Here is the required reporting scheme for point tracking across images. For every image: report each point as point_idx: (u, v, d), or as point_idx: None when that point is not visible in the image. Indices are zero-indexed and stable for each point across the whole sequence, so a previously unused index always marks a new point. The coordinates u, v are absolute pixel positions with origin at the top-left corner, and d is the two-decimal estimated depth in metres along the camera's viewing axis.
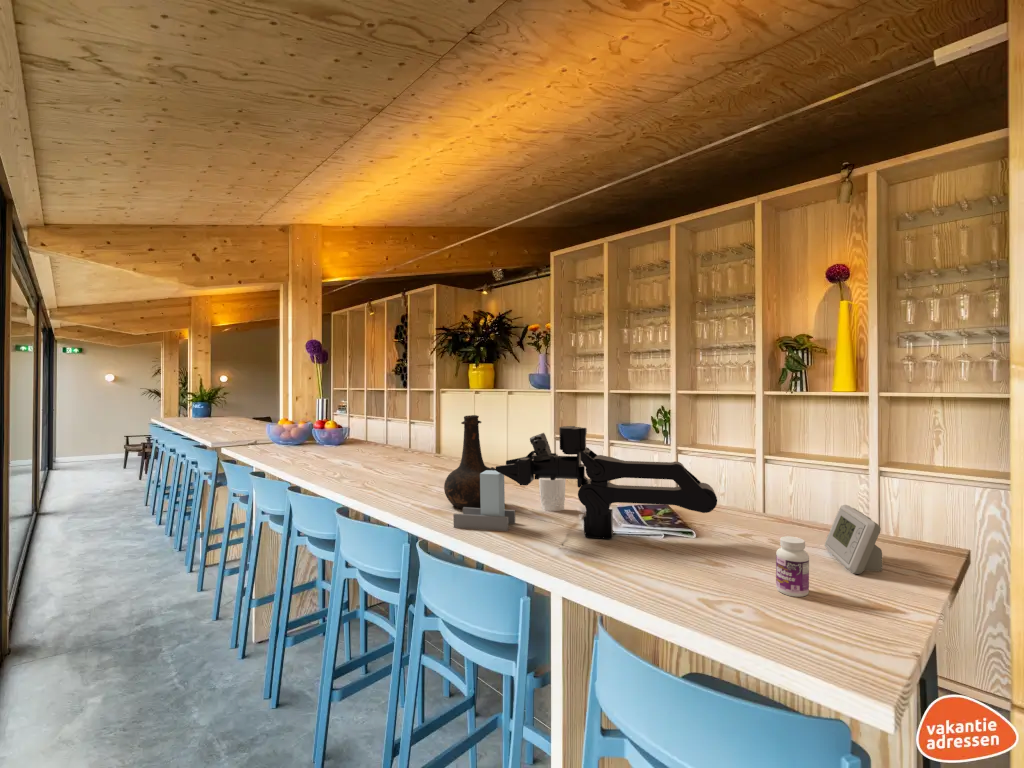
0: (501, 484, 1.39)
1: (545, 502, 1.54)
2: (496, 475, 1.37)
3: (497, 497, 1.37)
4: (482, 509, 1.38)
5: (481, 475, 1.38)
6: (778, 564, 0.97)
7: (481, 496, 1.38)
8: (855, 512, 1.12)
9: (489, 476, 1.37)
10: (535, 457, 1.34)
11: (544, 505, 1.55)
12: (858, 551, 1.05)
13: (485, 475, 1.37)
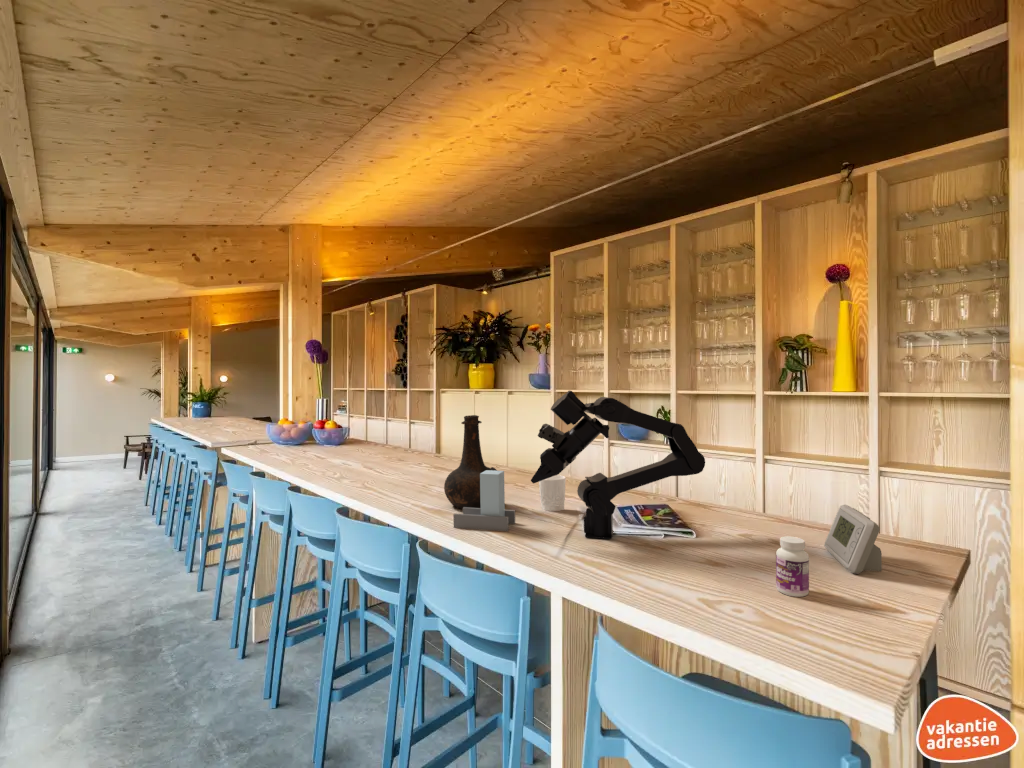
0: (501, 484, 1.39)
1: (545, 502, 1.54)
2: (496, 475, 1.37)
3: (497, 497, 1.37)
4: (482, 509, 1.38)
5: (481, 475, 1.38)
6: (778, 564, 0.97)
7: (481, 496, 1.38)
8: (854, 512, 1.12)
9: (489, 476, 1.37)
10: (553, 445, 1.32)
11: (544, 505, 1.55)
12: (857, 551, 1.05)
13: (485, 475, 1.37)
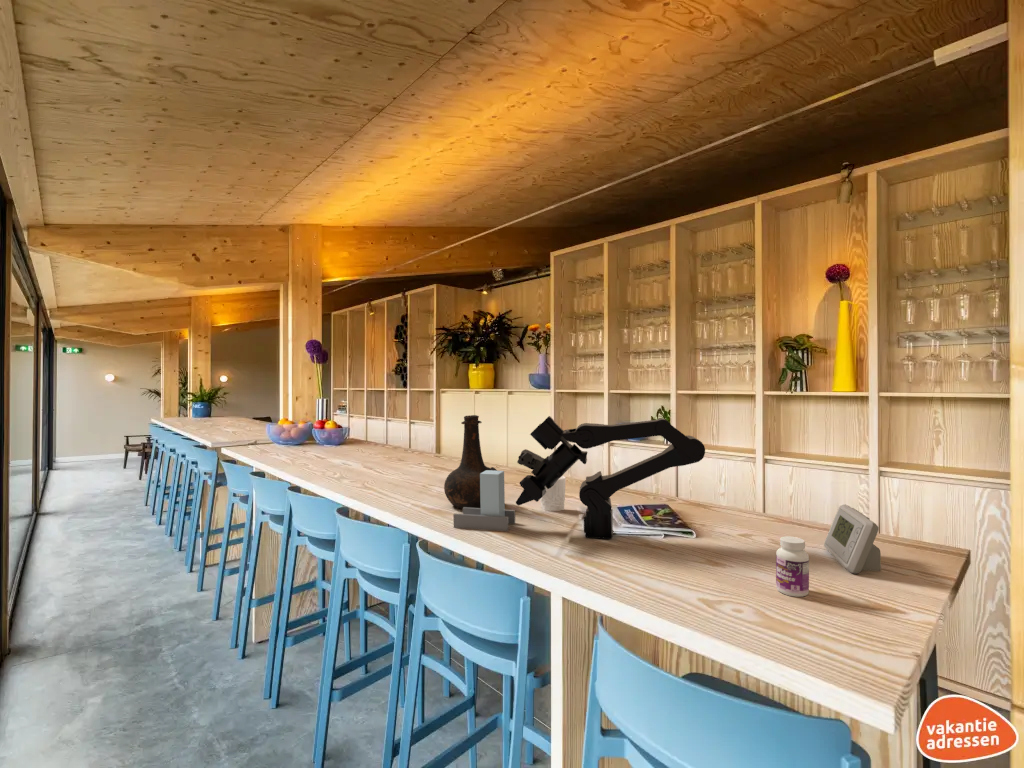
0: (501, 484, 1.39)
1: (545, 502, 1.54)
2: (496, 475, 1.37)
3: (497, 497, 1.37)
4: (482, 509, 1.38)
5: (481, 475, 1.38)
6: (778, 564, 0.97)
7: (481, 496, 1.38)
8: (854, 512, 1.12)
9: (489, 476, 1.37)
10: (533, 471, 1.34)
11: (544, 505, 1.55)
12: (856, 551, 1.05)
13: (485, 475, 1.37)
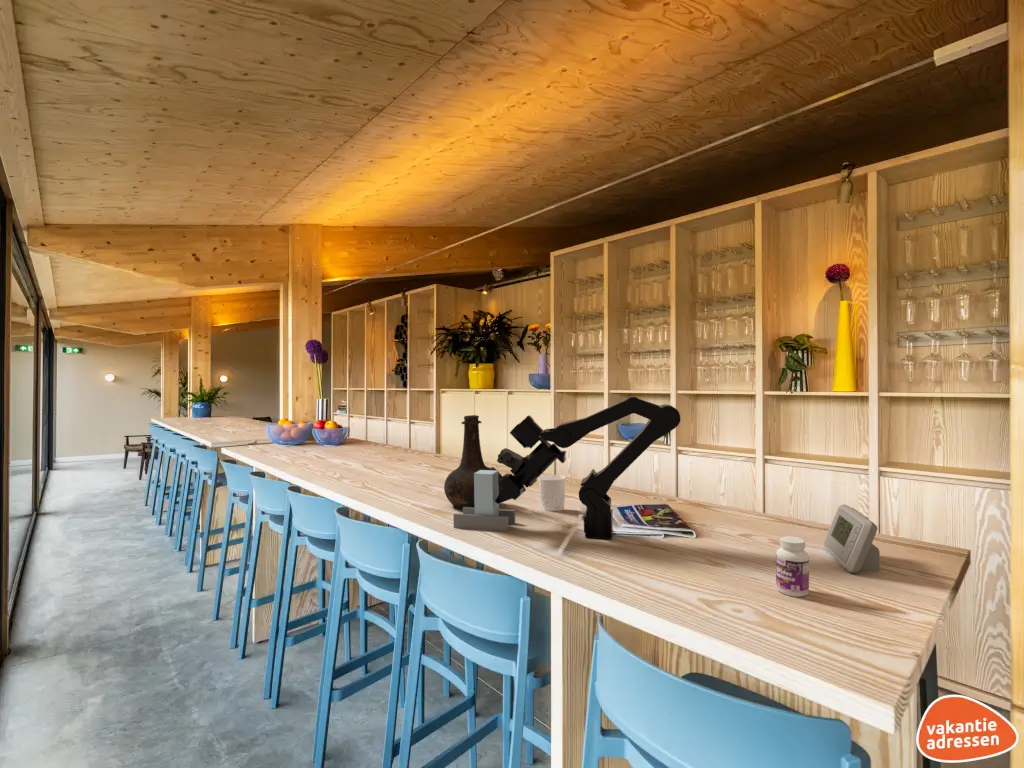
0: (495, 484, 1.40)
1: (545, 502, 1.54)
2: (490, 475, 1.37)
3: (491, 497, 1.37)
4: (476, 509, 1.38)
5: (475, 475, 1.38)
6: (778, 564, 0.97)
7: (475, 496, 1.38)
8: (853, 512, 1.12)
9: (482, 476, 1.38)
10: (512, 470, 1.35)
11: (544, 505, 1.55)
12: (855, 550, 1.05)
13: (479, 475, 1.38)
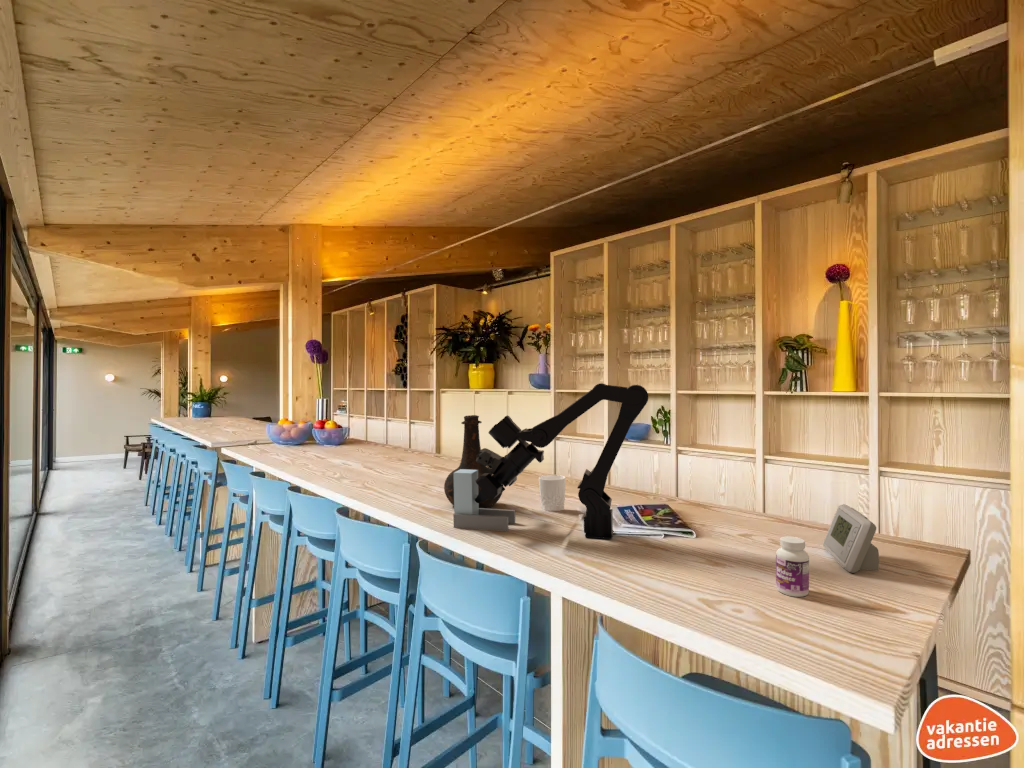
0: (475, 483, 1.41)
1: (545, 502, 1.54)
2: (469, 474, 1.39)
3: (470, 496, 1.39)
4: (456, 507, 1.40)
5: (455, 474, 1.40)
6: (778, 564, 0.97)
7: (455, 495, 1.40)
8: (852, 511, 1.12)
9: (462, 475, 1.39)
10: (490, 470, 1.37)
11: (544, 505, 1.55)
12: (854, 550, 1.06)
13: (458, 474, 1.39)
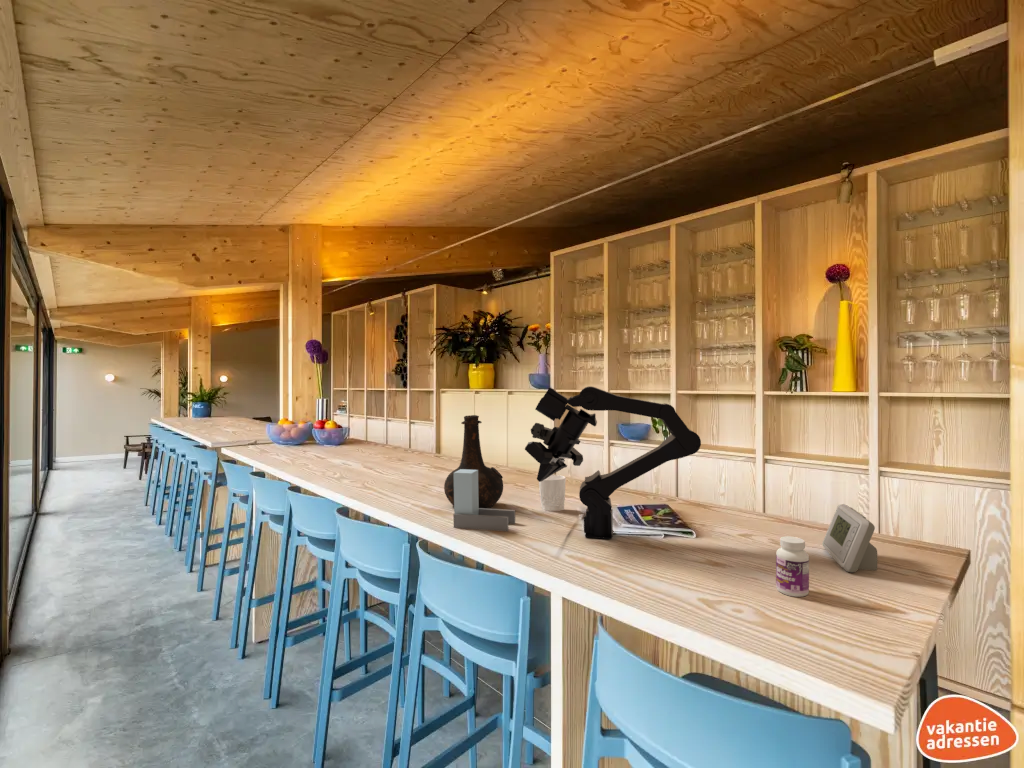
0: (475, 483, 1.41)
1: (545, 502, 1.54)
2: (469, 474, 1.39)
3: (470, 496, 1.39)
4: (456, 507, 1.40)
5: (455, 474, 1.40)
6: (778, 564, 0.97)
7: (455, 495, 1.40)
8: (851, 511, 1.13)
9: (462, 475, 1.39)
10: (544, 441, 1.35)
11: (544, 505, 1.55)
12: (852, 550, 1.06)
13: (458, 474, 1.39)
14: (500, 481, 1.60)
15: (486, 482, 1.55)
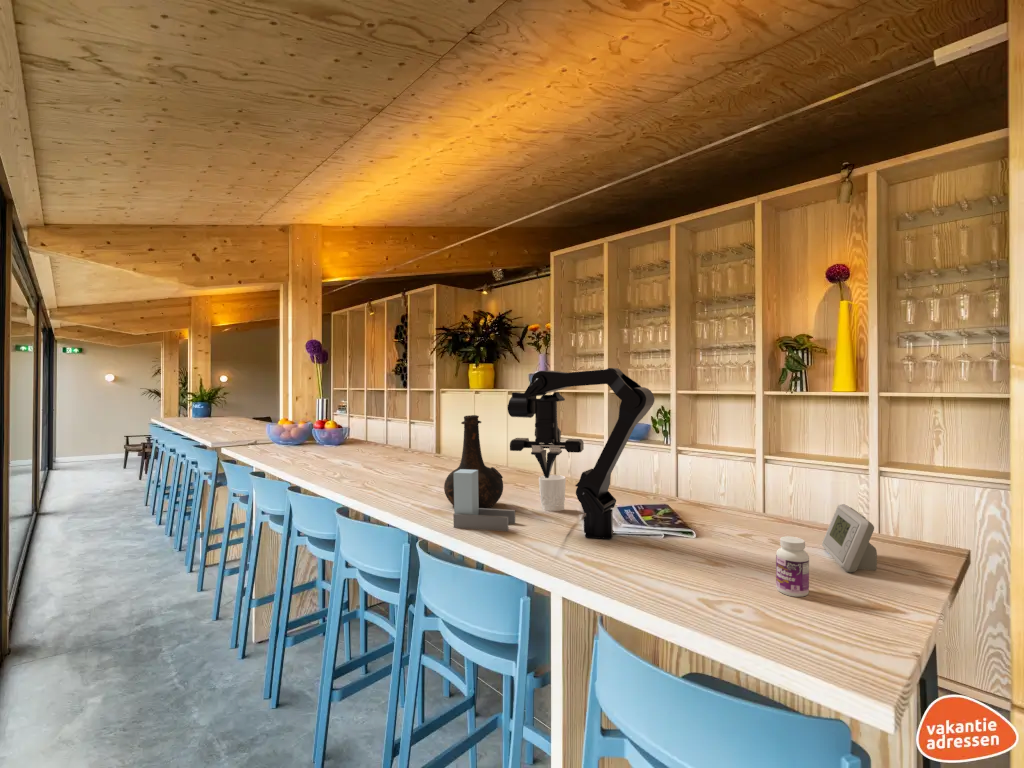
0: (475, 483, 1.41)
1: (545, 502, 1.54)
2: (469, 474, 1.39)
3: (470, 496, 1.39)
4: (456, 507, 1.40)
5: (455, 474, 1.40)
6: (778, 564, 0.97)
7: (455, 495, 1.40)
8: (851, 511, 1.13)
9: (462, 475, 1.39)
10: None
11: (544, 505, 1.55)
12: (851, 549, 1.06)
13: (458, 474, 1.39)
14: (500, 481, 1.60)
15: (486, 482, 1.55)
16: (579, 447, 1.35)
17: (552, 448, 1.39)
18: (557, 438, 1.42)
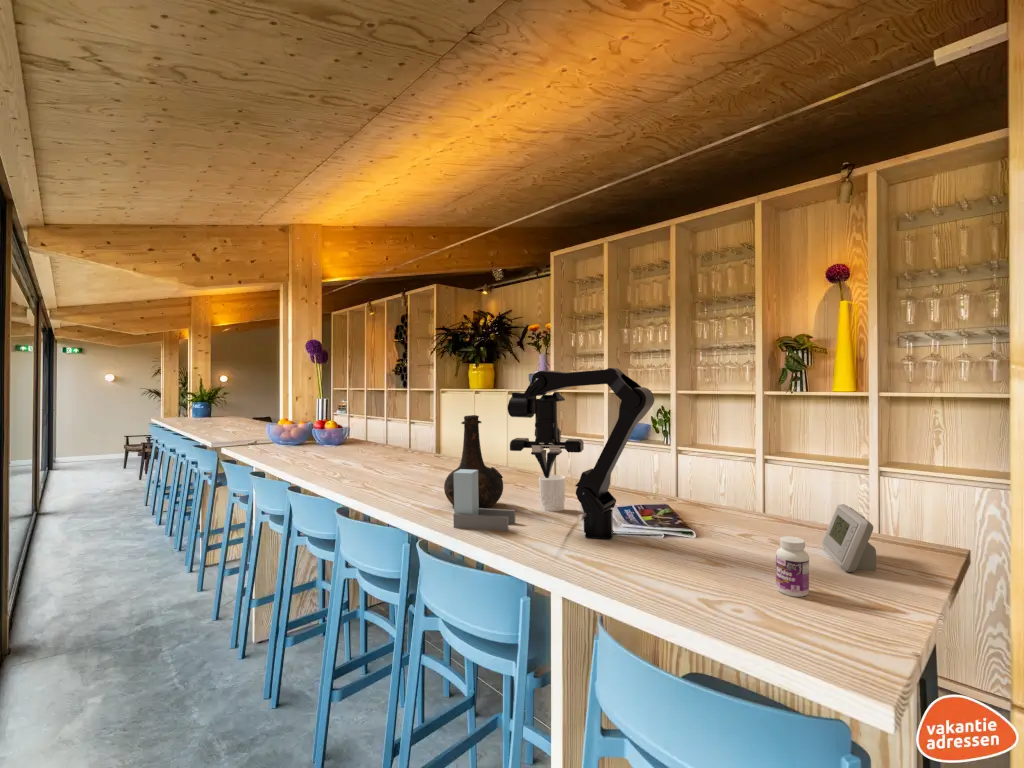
0: (475, 483, 1.41)
1: (545, 502, 1.54)
2: (469, 474, 1.39)
3: (470, 496, 1.39)
4: (456, 507, 1.40)
5: (455, 474, 1.40)
6: (778, 564, 0.97)
7: (455, 495, 1.40)
8: (850, 511, 1.13)
9: (462, 475, 1.39)
10: None
11: (544, 505, 1.55)
12: (851, 549, 1.06)
13: (458, 474, 1.39)
14: (500, 481, 1.60)
15: (486, 482, 1.55)
16: (579, 447, 1.35)
17: (552, 448, 1.39)
18: (557, 438, 1.42)
